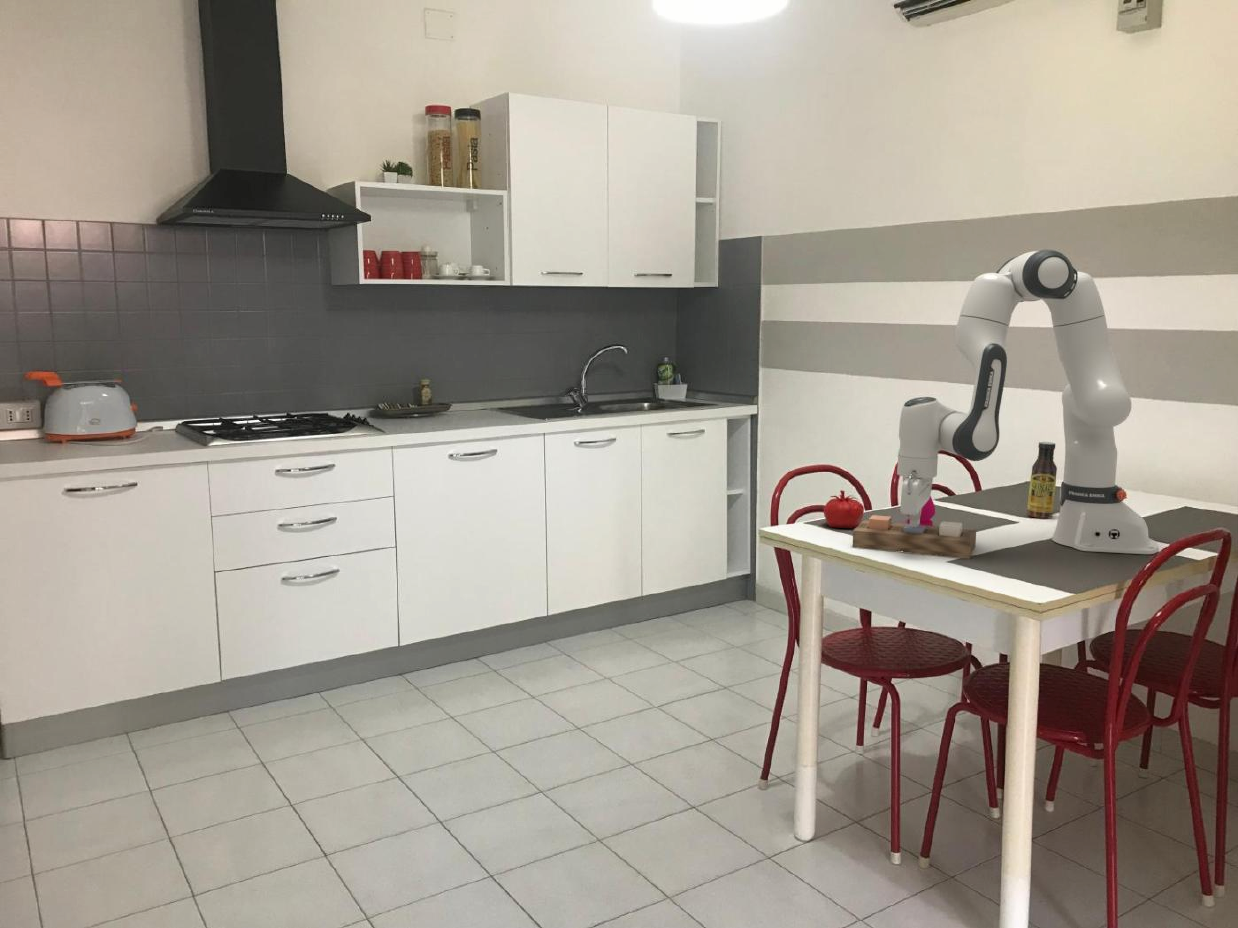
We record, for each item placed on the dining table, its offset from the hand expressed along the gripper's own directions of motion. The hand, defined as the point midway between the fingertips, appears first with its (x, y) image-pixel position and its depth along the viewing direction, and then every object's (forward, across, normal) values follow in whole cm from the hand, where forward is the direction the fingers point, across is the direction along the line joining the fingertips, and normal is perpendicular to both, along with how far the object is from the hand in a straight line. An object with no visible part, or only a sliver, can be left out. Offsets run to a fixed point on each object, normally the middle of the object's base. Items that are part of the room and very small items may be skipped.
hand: (914, 526), depth 233 cm
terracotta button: (+2, 0, +8) cm, 8 cm away
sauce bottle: (+5, +47, -25) cm, 53 cm away
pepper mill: (+5, +21, +2) cm, 22 cm away
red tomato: (+5, +15, +20) cm, 25 cm away
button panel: (+5, 0, 0) cm, 5 cm away
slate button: (+4, 0, 0) cm, 4 cm away
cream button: (+2, 0, -8) cm, 8 cm away
